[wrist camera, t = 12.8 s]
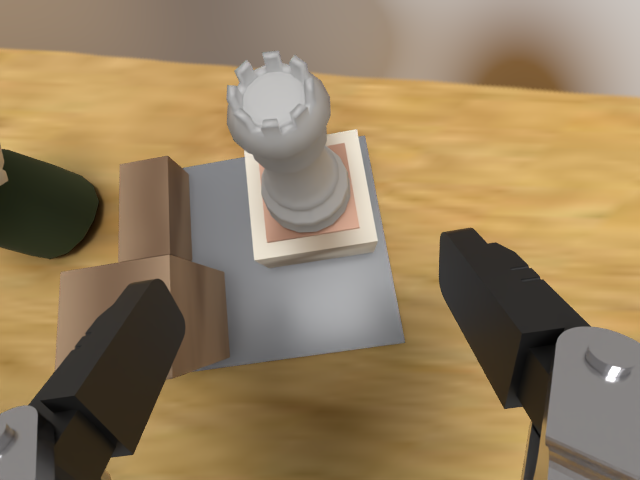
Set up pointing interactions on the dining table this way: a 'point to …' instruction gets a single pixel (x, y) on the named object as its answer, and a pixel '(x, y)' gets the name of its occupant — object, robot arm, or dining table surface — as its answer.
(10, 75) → the dining table surface
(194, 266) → the walnut castle blocks
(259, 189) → the white square block
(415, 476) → the dining table surface
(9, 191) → the character mug
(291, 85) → the rook chess piece
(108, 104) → the dining table surface
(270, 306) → the baseplate
